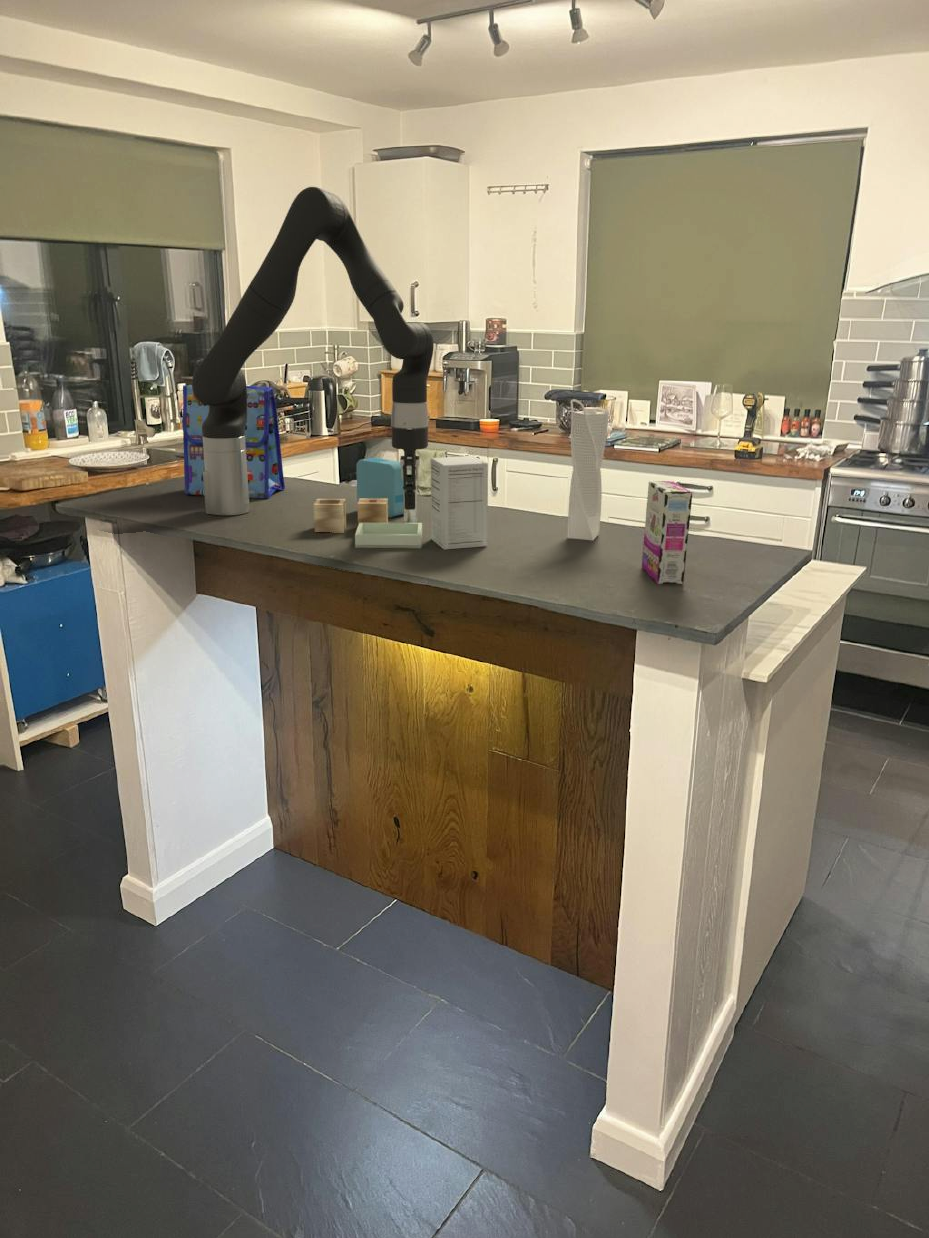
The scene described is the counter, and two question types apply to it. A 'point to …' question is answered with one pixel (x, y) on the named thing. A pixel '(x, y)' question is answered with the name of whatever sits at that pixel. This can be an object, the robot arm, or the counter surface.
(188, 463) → the lunch bag
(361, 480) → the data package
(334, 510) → the beech block wide bore
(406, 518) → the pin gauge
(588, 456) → the skyscraper
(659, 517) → the candy bar box
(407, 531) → the tray
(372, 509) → the oak block narrow bore
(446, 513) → the supplement box
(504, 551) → the counter surface
